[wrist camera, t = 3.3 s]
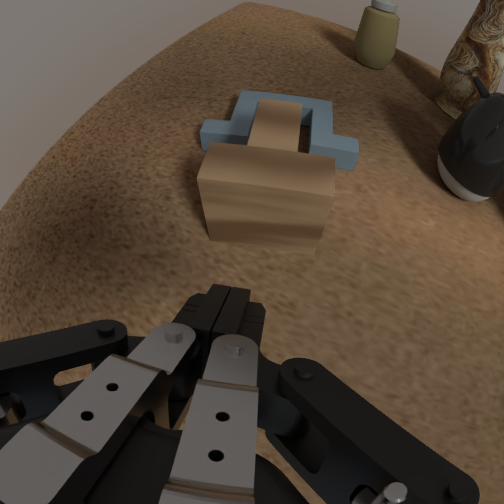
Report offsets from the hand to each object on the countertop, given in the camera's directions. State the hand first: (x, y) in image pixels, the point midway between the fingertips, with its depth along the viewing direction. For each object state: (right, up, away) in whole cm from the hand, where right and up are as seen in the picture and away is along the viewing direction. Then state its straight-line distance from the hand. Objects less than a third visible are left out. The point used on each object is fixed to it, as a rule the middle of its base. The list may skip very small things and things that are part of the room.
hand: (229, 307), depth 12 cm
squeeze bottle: (+24, +39, +37) cm, 59 cm away
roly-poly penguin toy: (+29, +12, +22) cm, 38 cm away
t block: (+3, +7, +20) cm, 21 cm away
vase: (+38, +28, +31) cm, 57 cm away
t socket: (+5, +17, +25) cm, 31 cm away
